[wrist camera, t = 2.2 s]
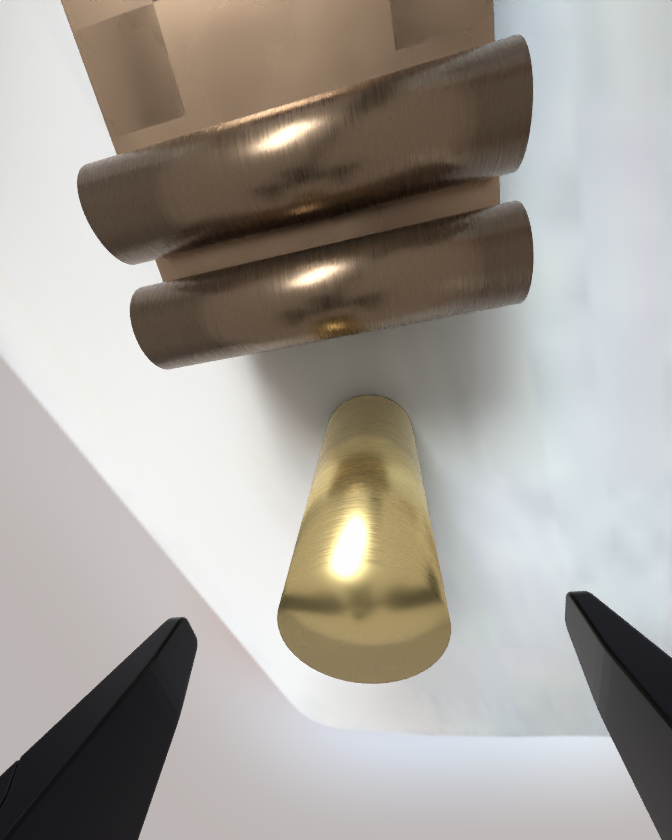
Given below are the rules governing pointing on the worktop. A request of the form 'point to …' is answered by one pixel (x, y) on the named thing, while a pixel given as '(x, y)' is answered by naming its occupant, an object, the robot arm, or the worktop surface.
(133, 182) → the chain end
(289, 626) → the brass pin
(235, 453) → the worktop surface
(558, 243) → the worktop surface
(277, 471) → the worktop surface
